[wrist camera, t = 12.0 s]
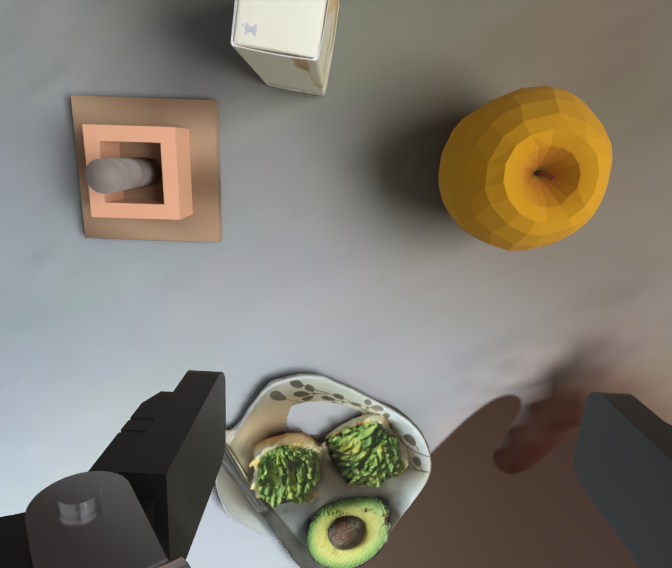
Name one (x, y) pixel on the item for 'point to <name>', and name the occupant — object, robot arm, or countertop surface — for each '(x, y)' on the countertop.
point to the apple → (525, 168)
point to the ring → (174, 169)
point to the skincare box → (287, 41)
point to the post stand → (151, 166)
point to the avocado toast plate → (322, 473)
